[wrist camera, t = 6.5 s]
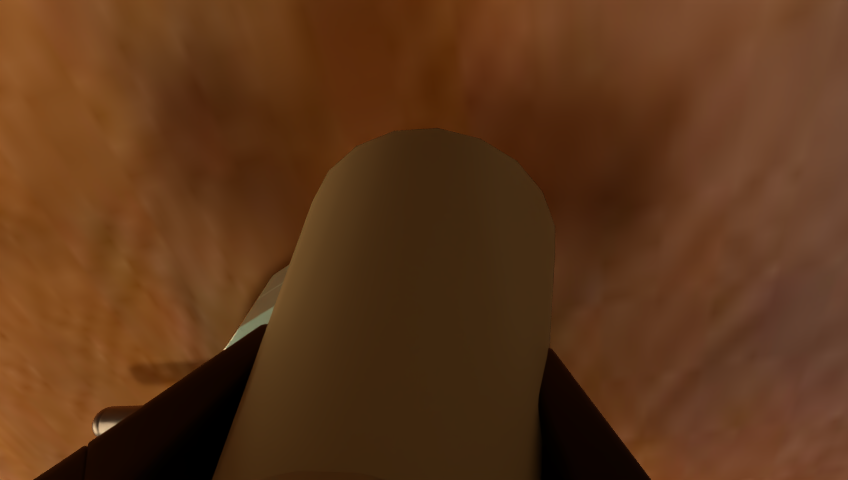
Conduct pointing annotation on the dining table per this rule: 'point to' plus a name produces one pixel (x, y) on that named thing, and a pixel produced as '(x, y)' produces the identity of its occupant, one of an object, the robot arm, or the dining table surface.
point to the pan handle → (111, 417)
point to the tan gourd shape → (406, 323)
